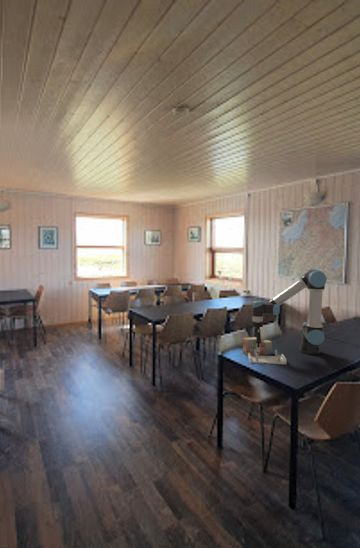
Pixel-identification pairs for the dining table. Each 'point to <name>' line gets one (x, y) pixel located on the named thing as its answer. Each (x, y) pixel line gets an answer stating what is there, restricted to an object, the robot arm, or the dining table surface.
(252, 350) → the stack of blocks
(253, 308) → the robot arm
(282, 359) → the rack with pegs
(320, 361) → the dining table surface
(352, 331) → the dining table surface
